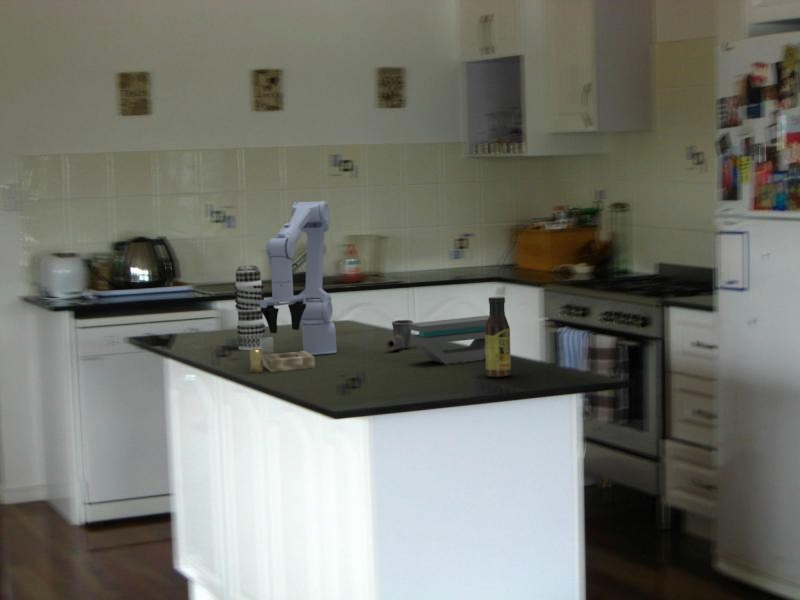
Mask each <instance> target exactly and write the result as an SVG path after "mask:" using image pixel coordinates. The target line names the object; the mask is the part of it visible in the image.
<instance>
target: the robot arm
mask: <svg viewBox="0 0 800 600" xmlns="http://www.w3.org/2000/svg"><path fill="white" fill-rule="evenodd" d="M330 218H331V211H330V207H329V204H328V203H327V201H325V200H322V201H295V202H294V203H293V204H292V207H291V219H290V221H289V222H287V223H284V224H283V225H282V227H281V228H280V230H279V231H278V232H277V234H276V235H275V237H274V238H273V237H272V238H270V239H269V240H268V241H267V243H266V246H265V248H266V249H265V251H266V252H265V253H266V256H267V259H268V265H269V266H270V272H271V273H270V275H271V276H270V277H271V293H272V296H271V298H267V299H265V298H264V300H260V307H261V312H262V313H263V318H264V319H265V320H266V322H267V325H268V326H267V327H268V330H269V333H270V334H277V333H278V315H279V310H280V308H276V307H277V306H285V305H287V307H288V309H289V313H290V318H291V319H290V320H291V321H290V322H291V328H292V330H293V331H298V330H300V325H301V327H302V328H301V329H302V345H303V347H302V349H303V350H302V349H301V350H299V352H301V351H306V352H307V353H309V354H311V355H312V356H316V355H327V354H337V353H338V351H337V350H338V349H337V333H336V332H337V330H336V326H335V323H334V322H333V321H331V320H332V316H333V304H332V303H333V302H332V296H331V295H330V294H329V293H328V292H326V290H324V289H323V279H324V276H323V275H324V249H325V248H324V247H325V246H324V245H325V233H327V231H329V230H330V224H331V223H330ZM302 233H305V235H306V236H307V238H306V239H307V240H306V260H305V261H306V262H305V263H306V265H305V286H304V287H305V288H304V289H303V290H302V291H301V292H300V293H299V294H298V295H294V280H293V261H292V259H293V258H294V256H295V252H296V245H297V243H298V242H299V240H300V239H301V237H302Z"/></svg>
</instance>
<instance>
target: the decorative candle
mask: <svg viewBox="0 0 800 600" xmlns="http://www.w3.org/2000/svg"><path fill="white" fill-rule="evenodd" d="M261 272H262V270H261V269H259V267H258V266H257V265H240V266H238V267H237V269H236V270H235V287H234V288H233V291H234V293H233V296H234V297H235V298H236V299H235V300H234V303H236V304H235V308H236V309H235V310H236V312H237V326H236V328H237V329H238V330H237V334H238V336H237V340H238V342H237V344H238V345H239V346H238V350H241V351H250V350H251V349H260V338H266V337H267V336H266V334H264V333H265V332H266V329H264V328H265V327H266V324H265V321H264V315H263V313H262V312H261V307H260V300H265V297H263V295H265V292H264V291H262V290H263V289H264V288H265V285H262V284H263V283H262V279H261Z"/></svg>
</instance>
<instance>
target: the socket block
mask: <svg viewBox="0 0 800 600" xmlns="http://www.w3.org/2000/svg"><path fill="white" fill-rule="evenodd" d="M300 351H301V350H300ZM300 351H291V352H279V353H274V354H265V355H263V367H264V368H266V369H267V370H268V371H269V372H271V373H273V372H285V371H293V370H294V371H297V370H305V369H306V370H307V369H316V361H315V358H316V357H315V355H311V354H309V353H307V352H306V351H301V352H300Z"/></svg>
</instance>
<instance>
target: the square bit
mask: <svg viewBox="0 0 800 600" xmlns="http://www.w3.org/2000/svg"><path fill="white" fill-rule="evenodd" d="M274 347H275V346H274V337H271V336H270V337H269V336H268V337H267V336H266V338H260V349H262V363H263V355H265V354H275V349H274Z"/></svg>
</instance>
